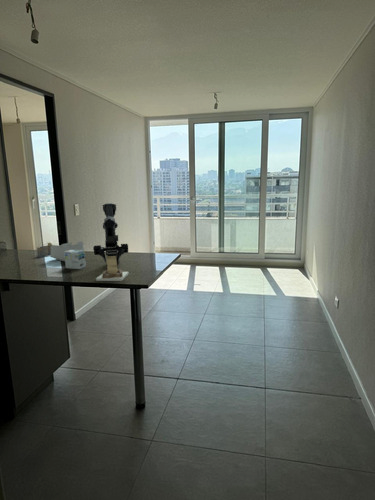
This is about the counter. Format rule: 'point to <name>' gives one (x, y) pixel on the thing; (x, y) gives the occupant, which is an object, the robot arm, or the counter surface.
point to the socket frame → (105, 274)
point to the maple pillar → (112, 265)
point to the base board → (112, 278)
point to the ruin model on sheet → (44, 250)
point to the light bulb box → (75, 259)
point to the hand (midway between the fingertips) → (111, 262)
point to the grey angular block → (64, 249)
